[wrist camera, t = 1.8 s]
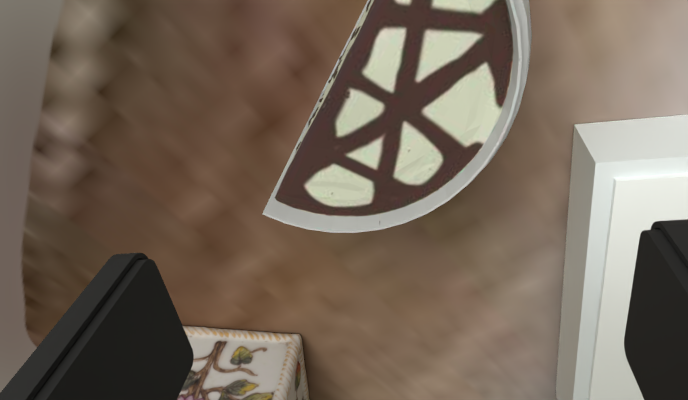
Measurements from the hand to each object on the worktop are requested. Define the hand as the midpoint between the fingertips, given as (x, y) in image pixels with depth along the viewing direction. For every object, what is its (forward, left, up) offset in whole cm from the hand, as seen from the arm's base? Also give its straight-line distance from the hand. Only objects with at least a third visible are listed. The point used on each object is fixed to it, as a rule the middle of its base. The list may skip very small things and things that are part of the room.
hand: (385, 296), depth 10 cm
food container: (-1, 0, -18) cm, 18 cm away
